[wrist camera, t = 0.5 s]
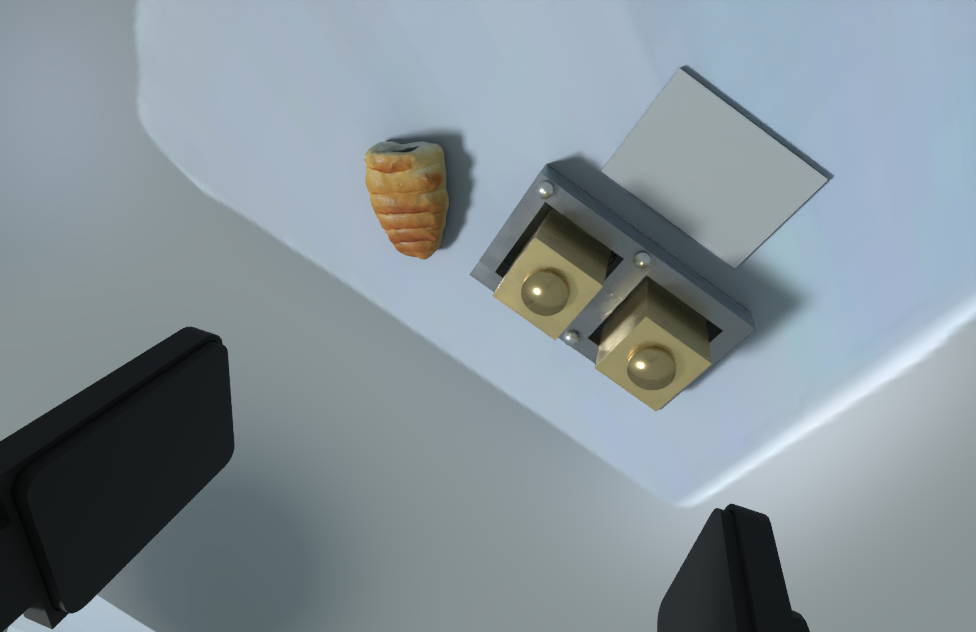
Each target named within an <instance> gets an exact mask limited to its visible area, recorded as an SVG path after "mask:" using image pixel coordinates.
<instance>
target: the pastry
mask: <svg viewBox="0 0 976 632" xmlns="http://www.w3.org/2000/svg"><path fill="white" fill-rule="evenodd" d="M365 156H366V157H365V162H366V165H367V167H366V186H367V189H368V192H369V194H370V200H371V205H372V207H373V209H374V211H375V214H376V217H377V218H378V219H379V221H380V223H381V226H382V228H383V229H384V230H385V232H386V233H387V235H388V237H389V239H390V241H391V242H392V243H393V245H394V246H395V248H396V249H397V250H398V251H399V252H401V253H403V254H405V255H408V256H412V257H418V258H420V259H427V258H429V257H430V256H431V255H432V254H433V253H434V252H435V251H436V250H437V249H438V248H439V247H440V246H441V239H442V236H443V230H444V228H445V226H446V214H447V211H448V208H449V196H448V193H447V174H446V167H445V159H444V152H443V149H442V147H441V146H439V145H438V144H436V143H432V144H431V143H429V142H423V141H421V142H420V141H417V142H413V143H406V144H398V143H396V142H391V141H389V142H381V143H378V144H376V145H374V146H373V147H371V148H370V149H369V150H368V151H367V152H366V154H365Z"/></svg>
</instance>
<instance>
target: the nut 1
mask: <svg viewBox="0 0 976 632" xmlns="http://www.w3.org/2000/svg"><path fill="white" fill-rule="evenodd" d="M610 255H611V249H610V248H608V247H607V246H605V245H604V244H603V243H601V242H600V241H599V240H597V239H596V238H594V237H593V236H592V235H590V234H589V233H587V232H586V231H585V230H583V229H582V228H581V227H579V226H578V225H576V224H575V223H574V222H572V221H571V220H569V219H568V218H567V217H565V216H564V215H563V214H561V213H560V212H558V211H557V210H556V209H554V208H552V209H551V210H550V212H549V213H548V214H547V216H546V217H545V219H544V220H543V221H542V223H541V224H540V225H539V227H538V228H537V229H536V231H535V232H534V233H533V235H532V236H531V238H530V239H529V240H528V242H527V243H526V244H525V246H524V247H523V248H522V250H521V251H520V253H519V254H518V255H517V257H516V258H515V260H514V261H513V263H512V264H511V266H510V268H509V269H508V271H507V273H506V274H505V276H504V278H503V279H502V281H501V282H500V284H499V286H498V287H497V289H496V291H495V292H494V294H493V295H492V296H493V297H495V298H496V299H498V300H499V301H500V302H502V303H503V304H505V305H506V306H507V307H509V308H510V309H512V310H513V311H515V312H516V313H517V314H519V315H520V316H522V317H523V318H524V319H526V320H527V321H529V322H530V323H531V324H533V325H534V326H536V327H537V328H539V329H540V330H541V331H543V332H544V333H546V334H547V335H548V336H550V337H551V338H553V339H554V340H556V339H557V338H558V337H559V336H560V334H561V333H562V332H563V331H564V330H565V329H566V328H567V327H568V325H569V324H570V323H571V322H572V321H573V320H574V319H575V318H576V316H577V315H578V314H579V313H580V312H581V311H582V310H583V309H584V307H585V306H586V305H587V304H588V303H589V302H590V301H591V300H592V298H593V297H594V296H595V295H596V294H597V293H598V292H599V291H600V289H601V288H602V287H603V285H604V281H605V277H606V272H607V268H608V263H609V259H610Z"/></svg>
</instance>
